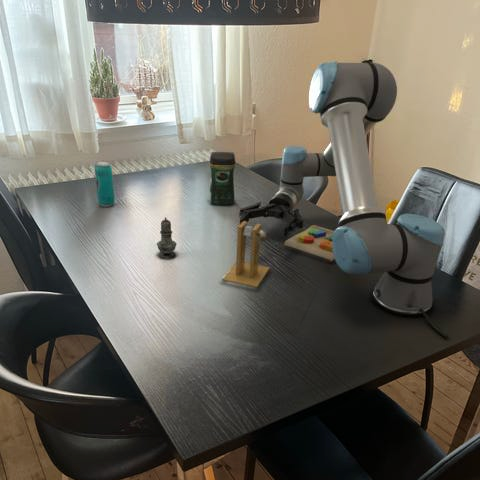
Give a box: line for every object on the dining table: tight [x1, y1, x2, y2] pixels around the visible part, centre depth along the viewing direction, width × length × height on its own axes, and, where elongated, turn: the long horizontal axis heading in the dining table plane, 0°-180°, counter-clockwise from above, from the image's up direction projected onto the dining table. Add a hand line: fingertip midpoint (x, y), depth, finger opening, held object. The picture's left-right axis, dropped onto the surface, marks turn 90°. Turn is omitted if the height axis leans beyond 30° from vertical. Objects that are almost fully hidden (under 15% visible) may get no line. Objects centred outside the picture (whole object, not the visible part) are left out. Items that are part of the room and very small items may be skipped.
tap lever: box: [243, 226, 267, 243], centre depth 139 cm, size 15×4×4 cm, turn 162°
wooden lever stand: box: [221, 221, 271, 289], centre depth 136 cm, size 12×10×16 cm
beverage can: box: [94, 160, 115, 208], centre depth 177 cm, size 6×6×15 cm
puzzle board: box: [283, 225, 335, 263], centre depth 160 cm, size 18×19×3 cm
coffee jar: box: [208, 151, 237, 206], centre depth 184 cm, size 10×8×19 cm
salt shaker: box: [156, 216, 177, 260], centre depth 147 cm, size 6×6×12 cm
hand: (262, 228), depth 145 cm, fingers open, 13 cm apart
